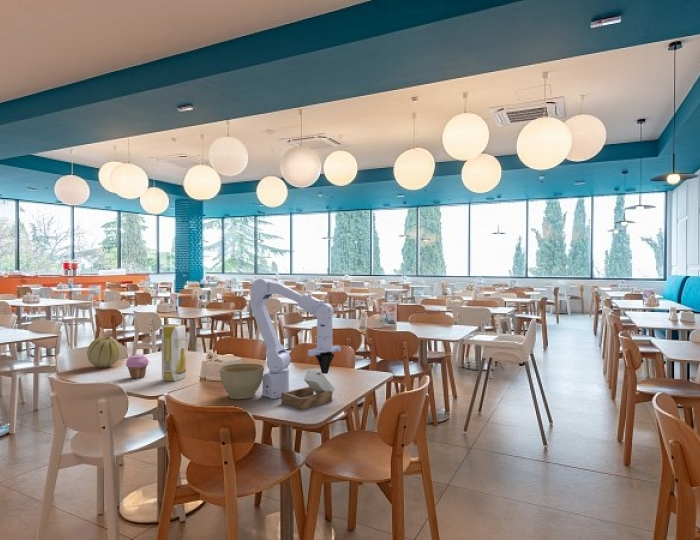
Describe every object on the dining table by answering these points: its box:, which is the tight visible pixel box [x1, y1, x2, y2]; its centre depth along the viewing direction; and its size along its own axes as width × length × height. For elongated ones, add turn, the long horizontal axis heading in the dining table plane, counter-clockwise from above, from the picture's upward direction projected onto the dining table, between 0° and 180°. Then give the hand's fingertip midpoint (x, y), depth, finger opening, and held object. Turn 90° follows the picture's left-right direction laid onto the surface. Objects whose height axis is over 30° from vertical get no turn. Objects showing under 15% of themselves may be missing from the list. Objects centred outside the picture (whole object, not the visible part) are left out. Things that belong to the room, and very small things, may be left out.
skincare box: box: [303, 369, 335, 396], centre depth 170 cm, size 6×4×12 cm
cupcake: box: [125, 354, 150, 379], centre depth 205 cm, size 9×9×10 cm
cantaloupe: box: [86, 335, 122, 368], centre depth 226 cm, size 15×15×15 cm
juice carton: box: [161, 322, 187, 382], centre depth 202 cm, size 9×8×24 cm
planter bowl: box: [219, 362, 265, 400], centre depth 175 cm, size 16×16×11 cm
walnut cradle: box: [281, 385, 333, 410], centre depth 167 cm, size 14×11×4 cm
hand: (324, 373), depth 173 cm, fingers closed
